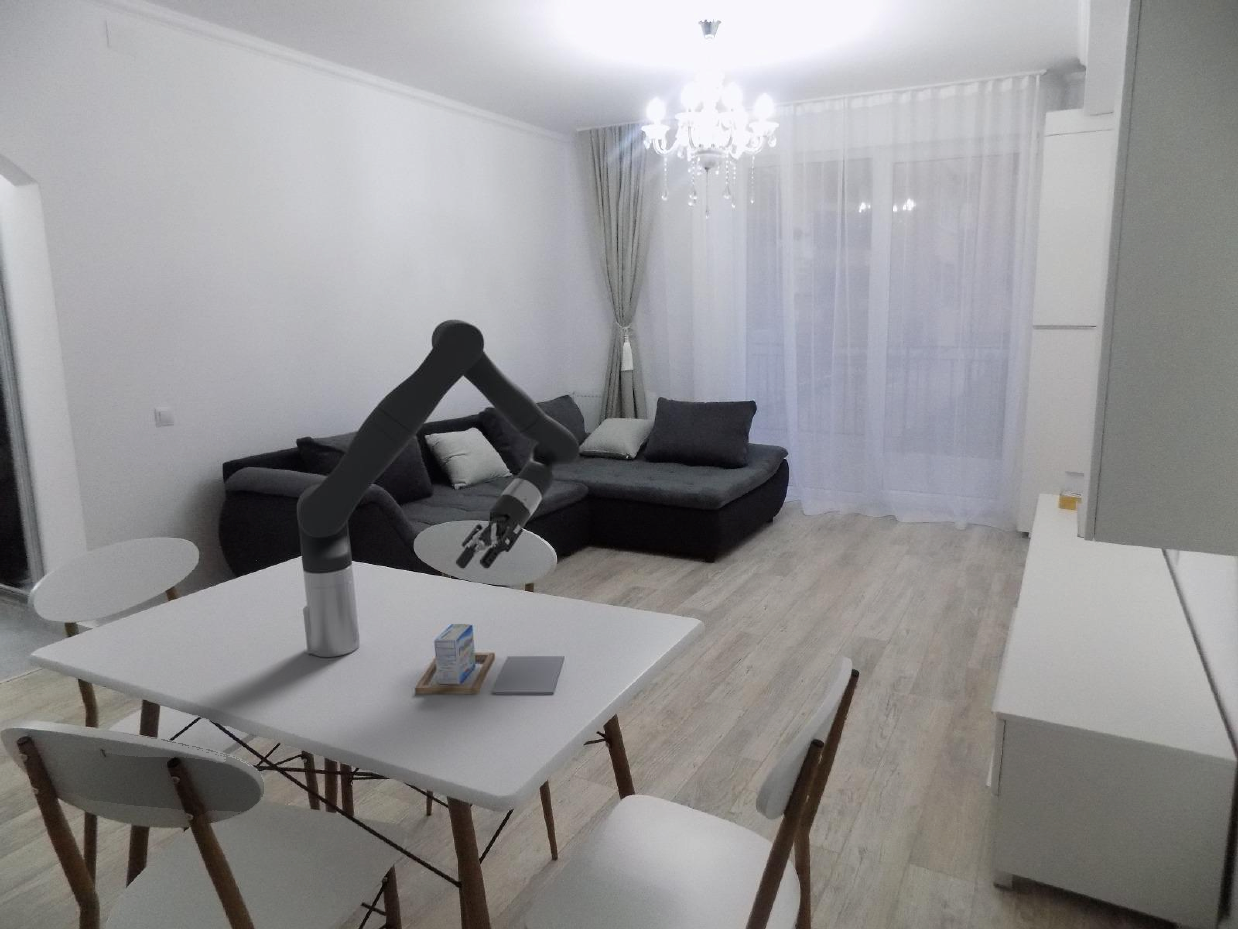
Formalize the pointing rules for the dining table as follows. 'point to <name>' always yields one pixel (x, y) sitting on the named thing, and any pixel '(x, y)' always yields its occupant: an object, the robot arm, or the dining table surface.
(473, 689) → the walnut tray
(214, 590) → the dining table surface
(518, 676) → the charcoal mat
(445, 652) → the medicine box
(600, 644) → the dining table surface
